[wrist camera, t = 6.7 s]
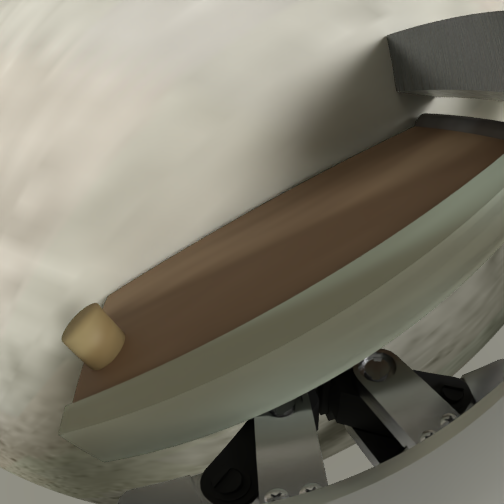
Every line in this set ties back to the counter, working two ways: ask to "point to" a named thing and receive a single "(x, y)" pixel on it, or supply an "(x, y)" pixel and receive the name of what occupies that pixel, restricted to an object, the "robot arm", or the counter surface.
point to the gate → (288, 291)
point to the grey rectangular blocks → (451, 57)
